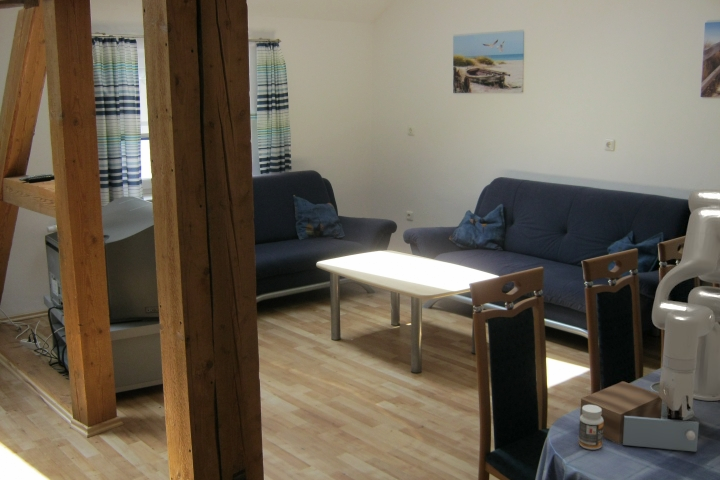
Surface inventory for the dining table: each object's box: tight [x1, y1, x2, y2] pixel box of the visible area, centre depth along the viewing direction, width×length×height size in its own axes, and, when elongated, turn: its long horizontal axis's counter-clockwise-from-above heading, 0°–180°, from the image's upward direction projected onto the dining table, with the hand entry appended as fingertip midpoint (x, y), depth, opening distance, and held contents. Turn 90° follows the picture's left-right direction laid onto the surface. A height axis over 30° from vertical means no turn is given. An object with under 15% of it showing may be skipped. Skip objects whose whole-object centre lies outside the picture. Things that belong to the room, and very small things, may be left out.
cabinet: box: [579, 380, 663, 445], centre depth 195 cm, size 18×12×8 cm, turn 125°
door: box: [622, 416, 700, 453], centre depth 181 cm, size 17×2×7 cm, turn 76°
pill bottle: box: [578, 405, 604, 451], centre depth 185 cm, size 6×6×10 cm
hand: (674, 430), depth 184 cm, fingers closed
